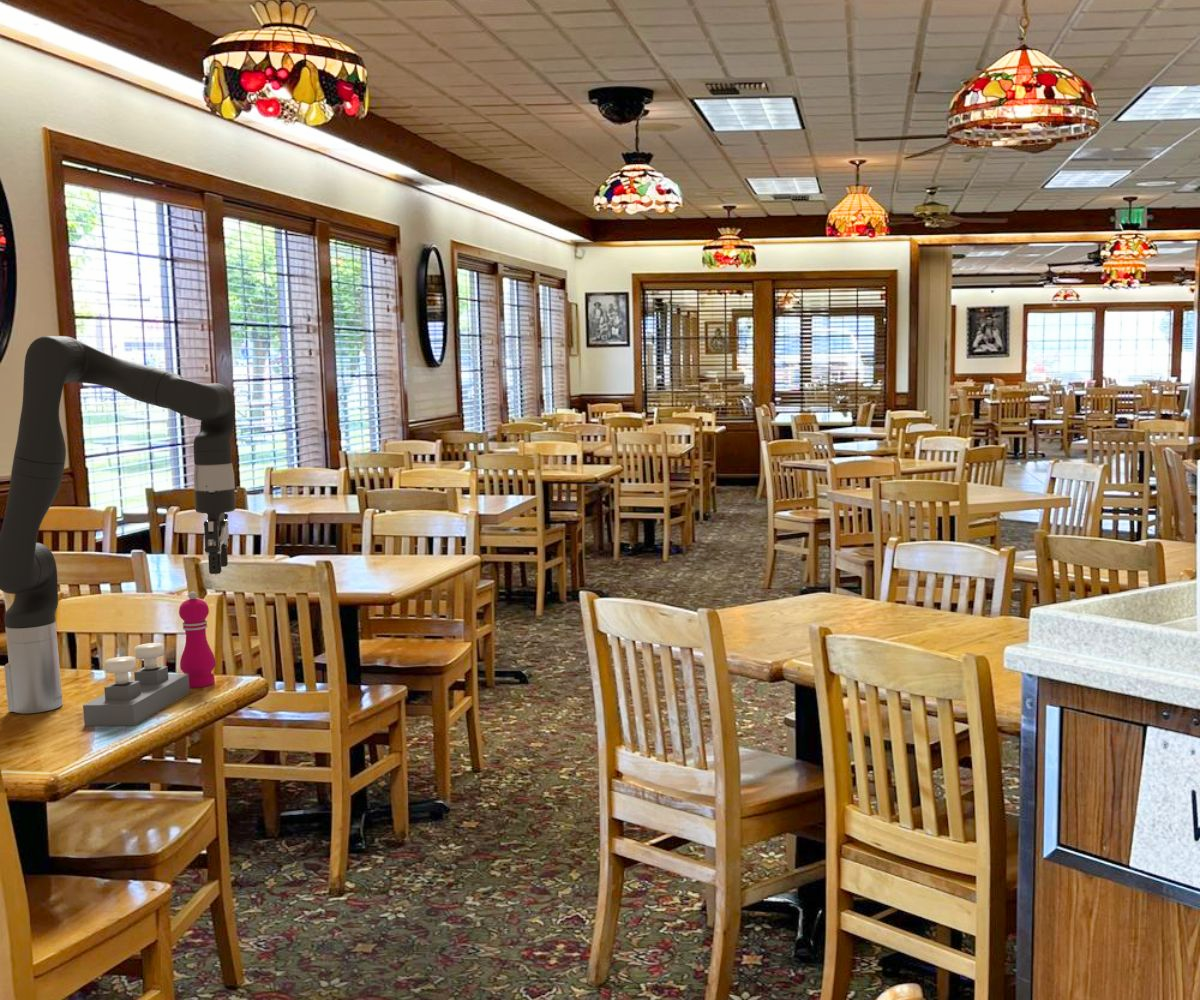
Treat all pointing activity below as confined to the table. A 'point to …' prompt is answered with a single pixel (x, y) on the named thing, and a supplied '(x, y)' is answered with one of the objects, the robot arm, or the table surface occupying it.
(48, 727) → the table surface
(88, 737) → the table surface
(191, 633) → the pepper mill
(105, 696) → the mount bar
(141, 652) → the knob
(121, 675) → the knob
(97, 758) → the table surface
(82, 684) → the table surface
